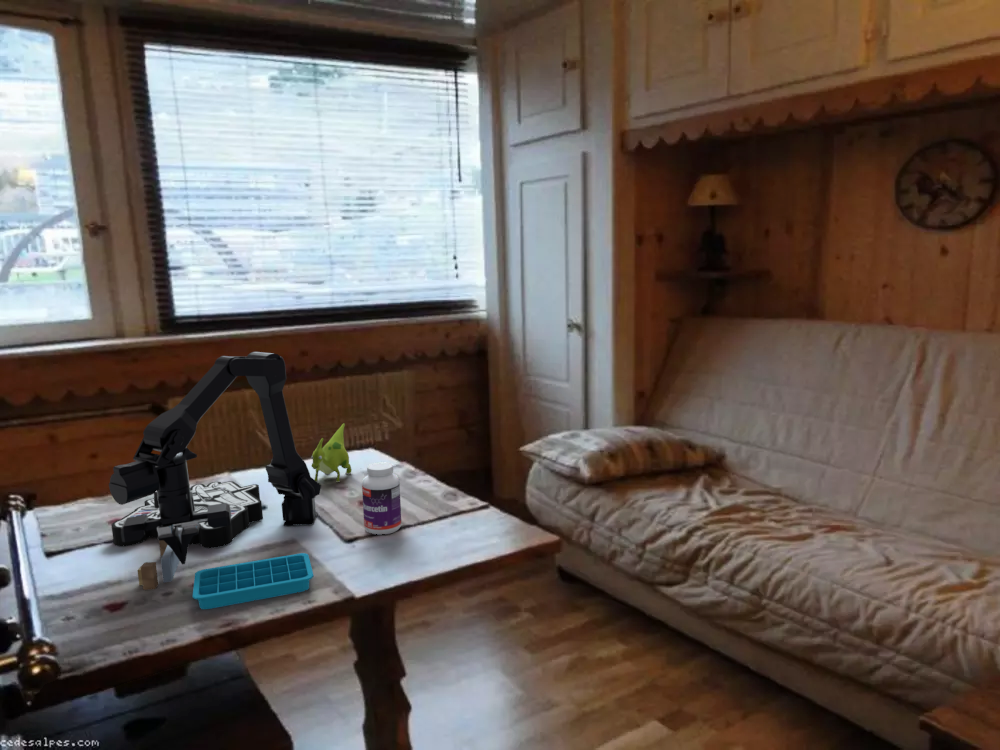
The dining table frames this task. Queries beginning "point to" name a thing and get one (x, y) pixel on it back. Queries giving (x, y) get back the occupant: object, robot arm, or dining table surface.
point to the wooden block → (148, 576)
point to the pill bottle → (381, 499)
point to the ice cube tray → (252, 580)
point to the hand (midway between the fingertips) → (183, 563)
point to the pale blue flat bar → (169, 562)
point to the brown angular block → (162, 546)
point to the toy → (331, 455)
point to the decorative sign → (239, 498)
